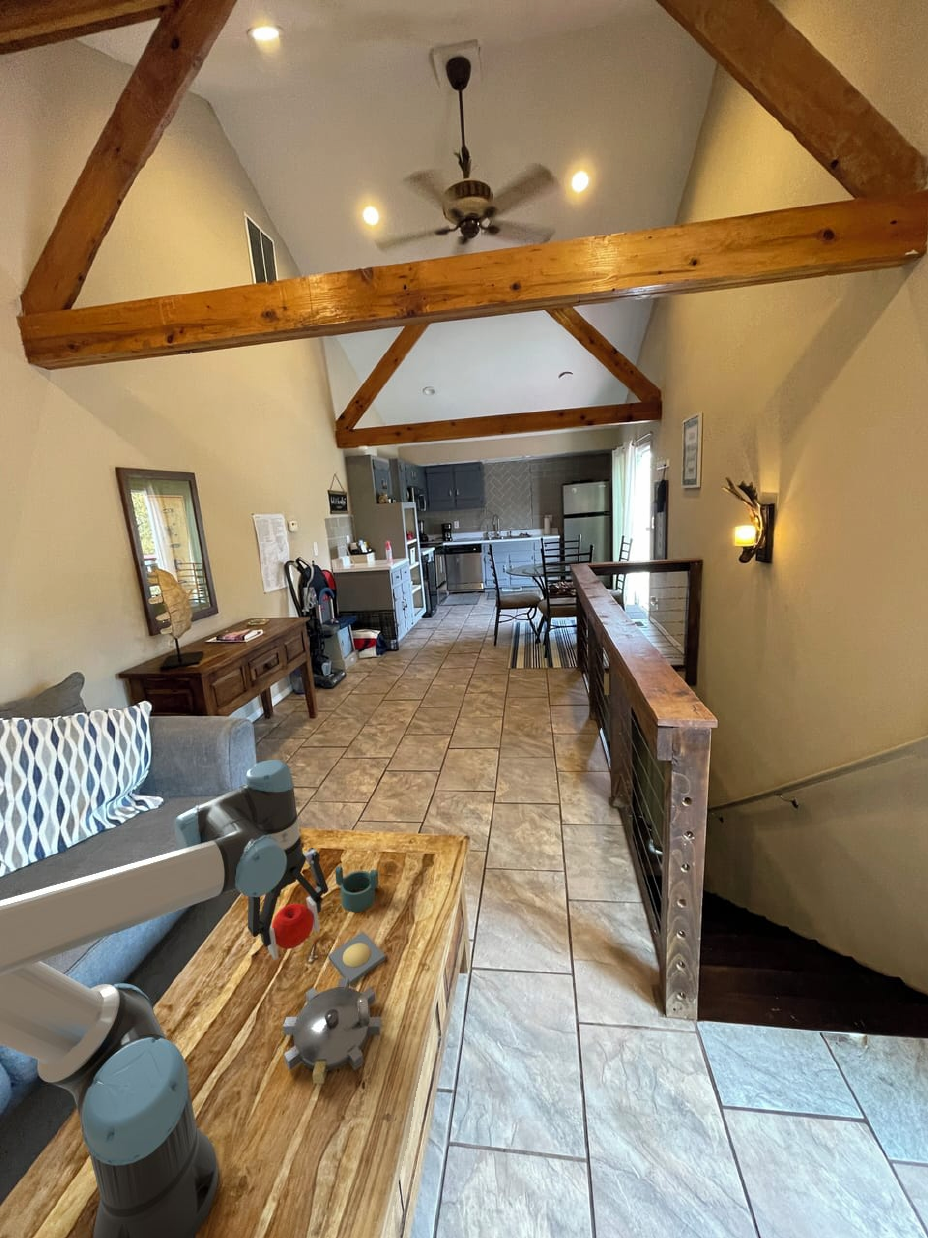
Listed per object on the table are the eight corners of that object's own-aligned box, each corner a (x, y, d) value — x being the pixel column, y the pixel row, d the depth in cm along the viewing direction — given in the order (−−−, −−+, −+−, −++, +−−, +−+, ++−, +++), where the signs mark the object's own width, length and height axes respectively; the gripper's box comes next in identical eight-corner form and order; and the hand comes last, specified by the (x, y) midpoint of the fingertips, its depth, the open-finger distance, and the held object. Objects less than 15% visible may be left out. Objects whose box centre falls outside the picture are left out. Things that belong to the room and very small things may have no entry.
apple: (293, 967, 94) (287, 935, 92) (264, 949, 98) (258, 918, 96) (324, 934, 101) (319, 903, 99) (296, 919, 105) (291, 889, 103)
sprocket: (371, 1083, 86) (368, 1051, 85) (266, 1083, 87) (262, 1051, 85) (388, 986, 104) (386, 957, 102) (301, 986, 104) (298, 958, 103)
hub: (327, 1058, 91) (325, 1038, 90) (311, 1034, 96) (309, 1015, 95) (355, 1034, 95) (354, 1015, 94) (339, 1012, 100) (337, 994, 99)
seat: (350, 985, 105) (349, 981, 105) (328, 959, 111) (328, 954, 111) (385, 959, 111) (385, 955, 111) (363, 935, 117) (363, 931, 117)
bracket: (381, 903, 127) (379, 872, 125) (346, 918, 122) (343, 886, 121) (369, 881, 135) (367, 851, 133) (335, 895, 130) (332, 864, 128)
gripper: (229, 882, 84) (249, 989, 90) (339, 823, 98) (350, 920, 104) (214, 860, 90) (234, 963, 95) (320, 808, 104) (332, 900, 109)
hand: (294, 940), depth 100 cm, fingers closed on apple, 8 cm apart
